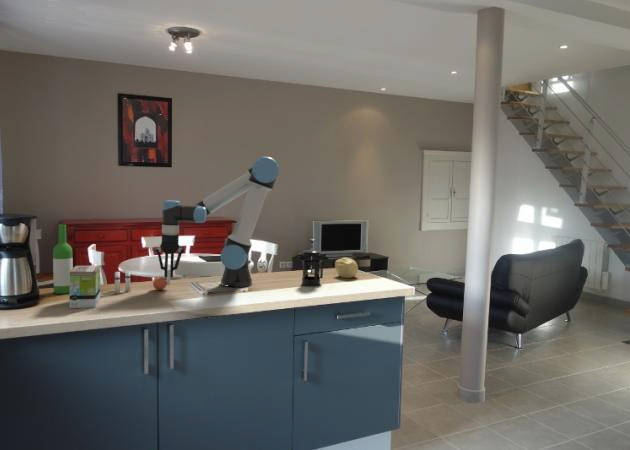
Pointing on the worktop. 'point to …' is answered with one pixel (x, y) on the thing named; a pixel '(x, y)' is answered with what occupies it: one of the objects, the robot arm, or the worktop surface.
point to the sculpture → (346, 267)
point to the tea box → (84, 286)
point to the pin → (117, 283)
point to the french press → (311, 279)
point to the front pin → (127, 282)
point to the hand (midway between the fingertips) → (168, 284)
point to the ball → (159, 283)
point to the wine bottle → (62, 263)
